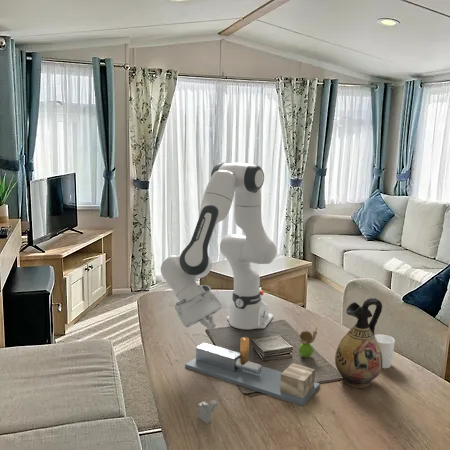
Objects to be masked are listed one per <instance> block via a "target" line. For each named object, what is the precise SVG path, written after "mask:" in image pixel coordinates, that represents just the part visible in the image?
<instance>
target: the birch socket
mask: <svg viewBox="0 0 450 450" xmlns="http://www.w3.org/2000/svg"><path fill="white" fill-rule="evenodd" d="M281 372H282V373H281V381H280V391H283V392H286V393H289V394H292V395H295V396H298V397H301V398H304V397H305V395H306V394H307V393H308V392H309V391H310V390H311V389H312V388H313V386H314V382H315V376H316V375H315V373H316V369H315V368H312V367H308V366H304V365H300V364H296V363H294V362H293V363H291V364H290V365H289V366H288V367H287V368H285V369H284V371H281Z"/></svg>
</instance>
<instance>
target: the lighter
mask: <svg viewBox="0 0 450 450" xmlns="http://www.w3.org/2000/svg"><path fill="white" fill-rule="evenodd" d="M217 405H218V402H217V400H216V399H212V400H211V401H209V403H208V402H206V401H205V400H204V401H201V402H199V403H198V407H197V408H198V411H197V412H198V418H199V419H200V420H201V421H202V422H204V424H209V423H212V421H211V420H212V418H211V417H212V413H214V412H215V410H216V408H217Z"/></svg>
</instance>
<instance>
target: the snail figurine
mask: <svg viewBox="0 0 450 450" xmlns="http://www.w3.org/2000/svg"><path fill="white" fill-rule="evenodd" d="M317 330H318V327H315V330H314V331H313V332H311V331H308V330H303V331H301V332H300V334H299V338H300V339H299V342H300V343H301V344H300V345H299V347H298V353H299V355H300V356H301V357H302V358H306V359H308V358H311V356H313V354H314V347H313V346H312V345H311V344H312V343H313V342H314V341H315V340H316V337H317V333H318V331H317Z"/></svg>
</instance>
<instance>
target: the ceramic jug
mask: <svg viewBox="0 0 450 450" xmlns="http://www.w3.org/2000/svg"><path fill="white" fill-rule="evenodd" d="M372 305H374V306H375V310H374V312H373V313H372V312H371V310H370V309H369V307H370V306H372ZM345 311H346V314H347V315H348V316H350V317H351V316H352V317H353V318H356V319H357V321H356V323H355V325H354V326H352V327H351V328H350V330H348V332H346V334H345V335H344V336H343V338H342V339H341V341H340V343H339V344H338V346H337V349H336V352H335V355H334V360H335V361H334V362H335V366H336V369H337V372H338V373H339V374H340V377H342V382H343V383H345V384H346V386H349V387H352V388H358V389H359V388H366V387H368V386H369V385H370V384H371V383H372V381H373V380H375V379H376V378H377V377H379V375H380V374H381V372H382V369H383V368H382V364H383V358H382V352H381V349H380V346H379V344H378V342H377V340H376V338H375V336H374V335H375V329H376V325H377V323H378V320H379V318H380V316H381V313H382V311H383V304H382V302H381V300H379V299H377V298H375V297H373V298H372V297H369V298H367V299H365V301H363V304H362V306H361V305H360V304H358V303H357V302H356V301H354V302H352V303H350V304H349V305H348V306H347V308H346V310H345ZM371 317H372V318H371ZM369 318H370V322H369V320H368V319H369Z"/></svg>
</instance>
